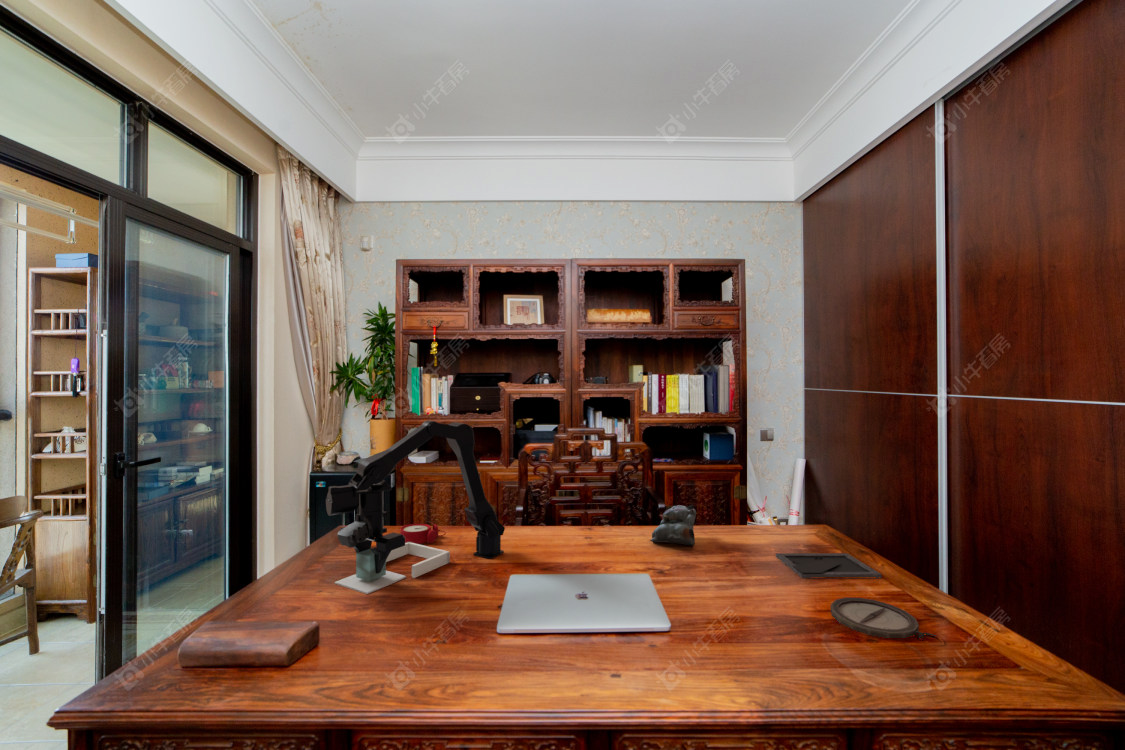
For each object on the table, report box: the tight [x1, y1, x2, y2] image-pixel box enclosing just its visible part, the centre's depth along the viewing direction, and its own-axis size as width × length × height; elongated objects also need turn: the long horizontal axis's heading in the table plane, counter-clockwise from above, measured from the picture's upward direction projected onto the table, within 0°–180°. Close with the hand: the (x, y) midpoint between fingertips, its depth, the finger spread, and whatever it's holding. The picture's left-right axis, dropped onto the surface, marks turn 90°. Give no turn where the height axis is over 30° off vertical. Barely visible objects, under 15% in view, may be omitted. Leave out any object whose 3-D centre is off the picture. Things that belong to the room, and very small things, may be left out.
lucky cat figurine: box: [649, 504, 697, 548], centre depth 164 cm, size 15×12×14 cm
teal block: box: [355, 547, 387, 581], centre depth 133 cm, size 5×5×6 cm
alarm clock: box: [398, 523, 447, 545], centre depth 166 cm, size 10×6×15 cm
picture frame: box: [775, 552, 882, 579], centre depth 145 cm, size 16×2×21 cm
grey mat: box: [334, 569, 407, 595], centre depth 133 cm, size 12×12×1 cm
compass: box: [830, 597, 939, 639], centre depth 112 cm, size 20×16×2 cm
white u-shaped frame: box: [386, 542, 451, 579], centre depth 144 cm, size 16×13×3 cm
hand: (371, 571), depth 133 cm, fingers closed on teal block, 5 cm apart
